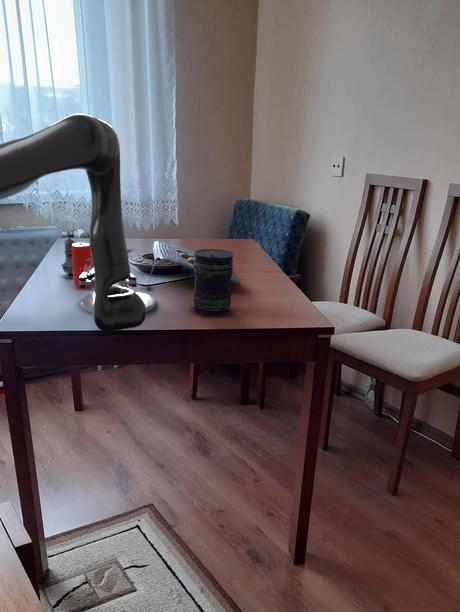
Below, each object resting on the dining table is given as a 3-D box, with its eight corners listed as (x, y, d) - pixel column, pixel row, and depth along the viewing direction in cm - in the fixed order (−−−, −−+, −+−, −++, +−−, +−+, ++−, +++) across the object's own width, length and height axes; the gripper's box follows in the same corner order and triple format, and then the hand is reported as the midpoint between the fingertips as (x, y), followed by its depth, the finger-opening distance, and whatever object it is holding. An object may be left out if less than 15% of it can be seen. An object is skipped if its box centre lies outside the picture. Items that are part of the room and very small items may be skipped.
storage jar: (196, 304, 149) (197, 247, 143) (232, 307, 149) (235, 250, 142) (190, 315, 141) (191, 255, 134) (228, 318, 140) (231, 258, 133)
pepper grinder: (69, 280, 165) (66, 238, 159) (58, 276, 168) (54, 235, 163) (86, 277, 169) (83, 236, 163) (75, 273, 172) (72, 233, 167)
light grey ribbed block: (141, 265, 196) (149, 233, 192) (213, 287, 204) (223, 256, 200) (146, 291, 156) (157, 251, 152) (236, 317, 163) (249, 279, 160)
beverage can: (87, 284, 162) (84, 242, 156) (96, 288, 158) (93, 245, 153) (71, 286, 158) (67, 243, 153) (80, 290, 155) (76, 247, 150)
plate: (92, 319, 134) (92, 314, 133) (72, 298, 149) (72, 293, 148) (165, 311, 142) (165, 307, 142) (140, 292, 157) (140, 288, 156)
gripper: (142, 273, 127) (132, 257, 141) (77, 274, 123) (74, 257, 137) (142, 305, 130) (133, 286, 145) (80, 307, 126) (76, 287, 141)
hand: (104, 272), depth 141 cm, fingers closed on sponge, 5 cm apart
